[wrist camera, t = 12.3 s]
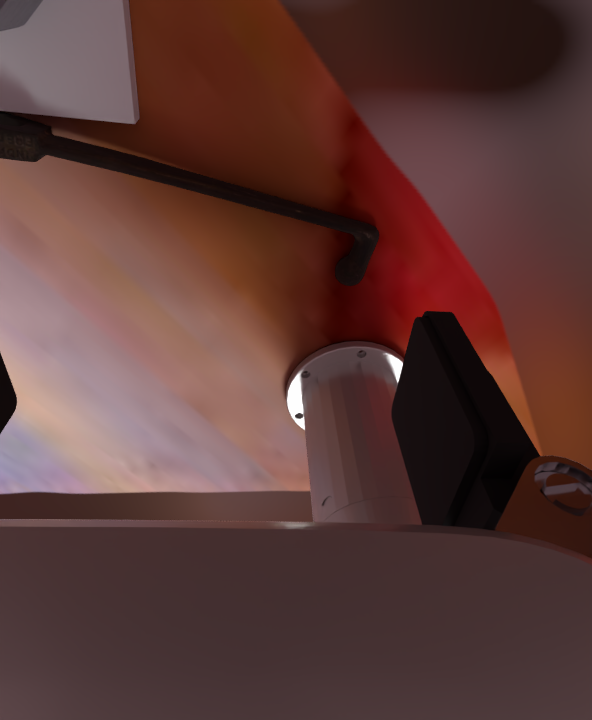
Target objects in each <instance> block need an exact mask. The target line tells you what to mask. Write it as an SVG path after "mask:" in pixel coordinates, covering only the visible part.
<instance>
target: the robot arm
mask: <svg viewBox="0 0 592 720" xmlns="http://www.w3.org/2000/svg"><path fill="white" fill-rule="evenodd" d="M286 401H287V408H288V411H289V413H290V415H291V417H292V418H293V420H294V421H295V422H296V423H297V424H298V425H299V426H300V427H301V428H302V429H304V430H305V436H306V447H307V457H308V468H309V479H310V489H311V499H312V511H313V521H314V522H266V521H180V520H175V521H174V520H173V521H172V520H171V521H170V520H52V519H48V520H47V519H42V520H41V519H0V720H592V470H590V469H588V468H587V467H585V466H583V465H582V464H580V463H578V462H575V461H572V460H569V459H567V458H563V457H558V456H540V455H539V453H538V452H537V450H536V448H535V447H534V445H533V443H532V442H531V440H530V438H529V437H528V435H527V433H526V432H525V430H524V428H523V426H522V425H521V423H520V421H519V420H518V418H517V416H516V415H515V413H514V411H513V410H512V408H511V406H510V405H509V403H508V401H507V400H506V398H505V396H504V395H503V393H502V391H501V390H500V388H499V386H498V385H497V383H496V381H495V380H494V378H493V376H492V375H491V374H490V373H489V372H488V371H487V369H486V368H485V366H484V364H483V363H482V361H481V359H480V358H479V356H478V354H477V353H476V351H475V349H474V348H473V346H472V344H471V342H470V341H469V339H468V337H467V336H466V334H465V332H464V331H463V329H462V327H461V326H460V324H459V322H458V321H457V319H456V317H455V316H454V314H453V313H452V312H436V311H426V312H425V313H424V314H423V316H422V317H417V318H416V319H415V320H414V323H413V327H412V331H411V335H410V338H409V342H408V346H407V350H406V354H405V358H404V359H403V358H402V356H400V355H399V354H398V353H396V352H395V351H394V350H392V349H390V348H388V347H385V346H383V345H380V344H376V343H372V342H364V341H351V342H342V343H338V344H333V345H330V346H327V347H325V348H322V349H320V350H318V351H316V352H314V353H313V354H311V355H309V356H308V357H307V358H306V359H304V360H303V361H302V362H301V363H300V364H299V365H298V366H297V367H296V369H295V370H294V371H293V373H292V374H291V376H290V378H289V380H288V384H287V388H286ZM16 405H17V397H16V394H15V391H14V388H13V386H12V383H11V380H10V378H9V375H8V372H7V369H6V367H5V364H4V361H3V359H2V356H1V353H0V433H1V432H2V430H3V429H4V427H5V426H6V424H7V422H8V421H9V419H10V418H11V416H12V415H13V413H14V411H15V409H16Z"/></svg>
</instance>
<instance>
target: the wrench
mask: <svg viewBox="0 0 592 720" xmlns="http://www.w3.org/2000/svg"><path fill="white" fill-rule="evenodd" d="M45 155H50V156H54V157H58V158H62V159H67V160H71V161H75V162H79V163H83V164H87V165H91V166H96V167H100V168H104V169H108V170H112V171H117V172H121V173H125V174H129V175H133V176H137V177H141V178H145V179H149V180H152V181H156V182H160V183H164V184H168V185H172V186H176V187H179V188H183V189H187V190H191V191H195V192H198V193H202V194H206V195H210V196H214V197H217V198H221V199H225V200H228V201H232V202H235V203H239V204H243V205H246V206H250V207H254V208H257V209H261V210H265V211H268V212H272V213H276V214H280V215H283V216H287V217H291V218H295V219H298V220H302V221H306V222H310V223H313V224H317V225H321V226H324V227H328V228H332V229H335V230H339V231H342V232H346V233H350V234H353V236H354V237H355V241H354V244H353V247H352V249H351V251H350V254H349V255H348V256H346V257H344V258H342V259H341V260H340V261H339V262H338V263H337V265H336V268H335V276H336V278H337V280H338V281H339V282H340V283H342V284H344V285H347V286H352V285H356V284H358V283H359V282H360V281H361V280H362V278H363V276H364V274H365V271H366V268H367V265H368V263H369V260H370V258H371V255H372V253H373V251H374V249H375V246H376V244H377V242H378V239H379V232H378V230H377V228H376V227H374V226H372V225H370V224H367V223H364V222H360V221H357V220H353V219H348V218H345V217H342V216H339V215H336V214H332V213H329V212H325V211H322V210H318V209H315V208H312V207H308V206H305V205H301V204H298V203H294V202H291V201H288V200H284V199H281V198H278V197H275V196H271V195H268V194H264V193H261V192H258V191H254V190H251V189H248V188H244V187H241V186H238V185H234V184H231V183H227V182H224V181H221V180H217V179H214V178H210V177H207V176H203V175H200V174H197V173H193V172H190V171H186V170H183V169H179V168H176V167H172V166H169V165H165V164H162V163H159V162H155V161H152V160H149V159H145V158H142V157H138V156H134V155H130V154H127V153H123V152H119V151H116V150H112V149H108V148H104V147H100V146H96V145H91V144H88V143H84V142H80V141H76V140H72V139H68V138H64V137H59V136H54V135H53V134H52V131H51V127H50V126H48V125H45V124H42V123H39V122H36V121H33V120H30V119H26V118H23V117H20V116H16V115H12V114H9V113H5V112H1V111H0V158H3V159H11V160H19V161H29V162H37V161H38V160H39V159H41V158H42V157H44V156H45Z"/></svg>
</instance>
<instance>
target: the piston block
mask: <svg viewBox="0 0 592 720" xmlns="http://www.w3.org/2000/svg"><path fill="white" fill-rule="evenodd" d="M0 111H8V112H18V113H28V114H38V115H48V116H58V117H68V118H78V119H88V120H98V121H108V122H118V123H128V124H135V123H136V122H137V121H138V120H139V119H140V117H139V106H138V95H137V84H136V73H135V63H134V52H133V41H132V30H131V19H130V9H129V0H43V1H42V2H41V4H40V5H39V6H38V8H37V9H36V10H35V12H34V13H33V14H32V16H31V17H30V18H29V20H28V21H27V22H26V24H25V25H23V26H20V27H18V28H13V29H9V30H4V31H0Z"/></svg>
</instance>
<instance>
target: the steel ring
mask: <svg viewBox="0 0 592 720" xmlns="http://www.w3.org/2000/svg"><path fill="white" fill-rule="evenodd" d="M42 1H43V0H0V31H4V30H9V29H13V28H18V27H20V26H23V25H25V24H26V22H27V21H28V20H29V18H30V17H31V16H32V14H33V13H34V12H35V10H36V9H37V8H38V6H39V5H40V4H41V2H42Z"/></svg>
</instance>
